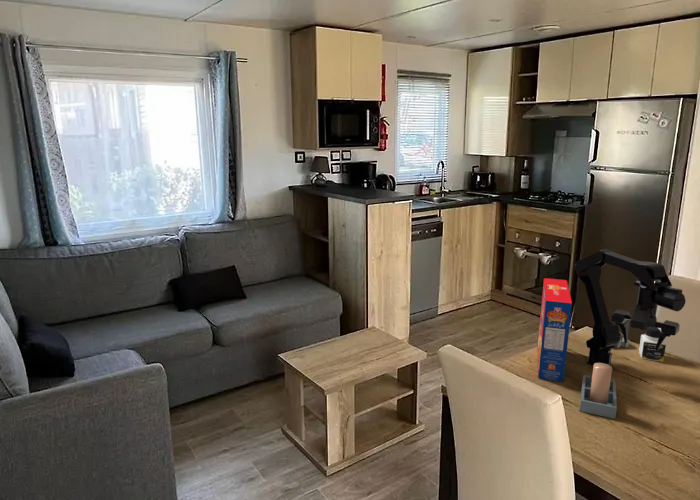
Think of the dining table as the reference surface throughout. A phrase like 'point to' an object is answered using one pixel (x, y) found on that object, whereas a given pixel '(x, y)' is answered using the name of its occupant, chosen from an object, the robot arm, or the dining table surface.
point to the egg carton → (622, 342)
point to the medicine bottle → (651, 345)
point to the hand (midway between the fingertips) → (641, 346)
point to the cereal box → (554, 329)
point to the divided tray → (595, 407)
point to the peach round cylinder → (600, 383)
